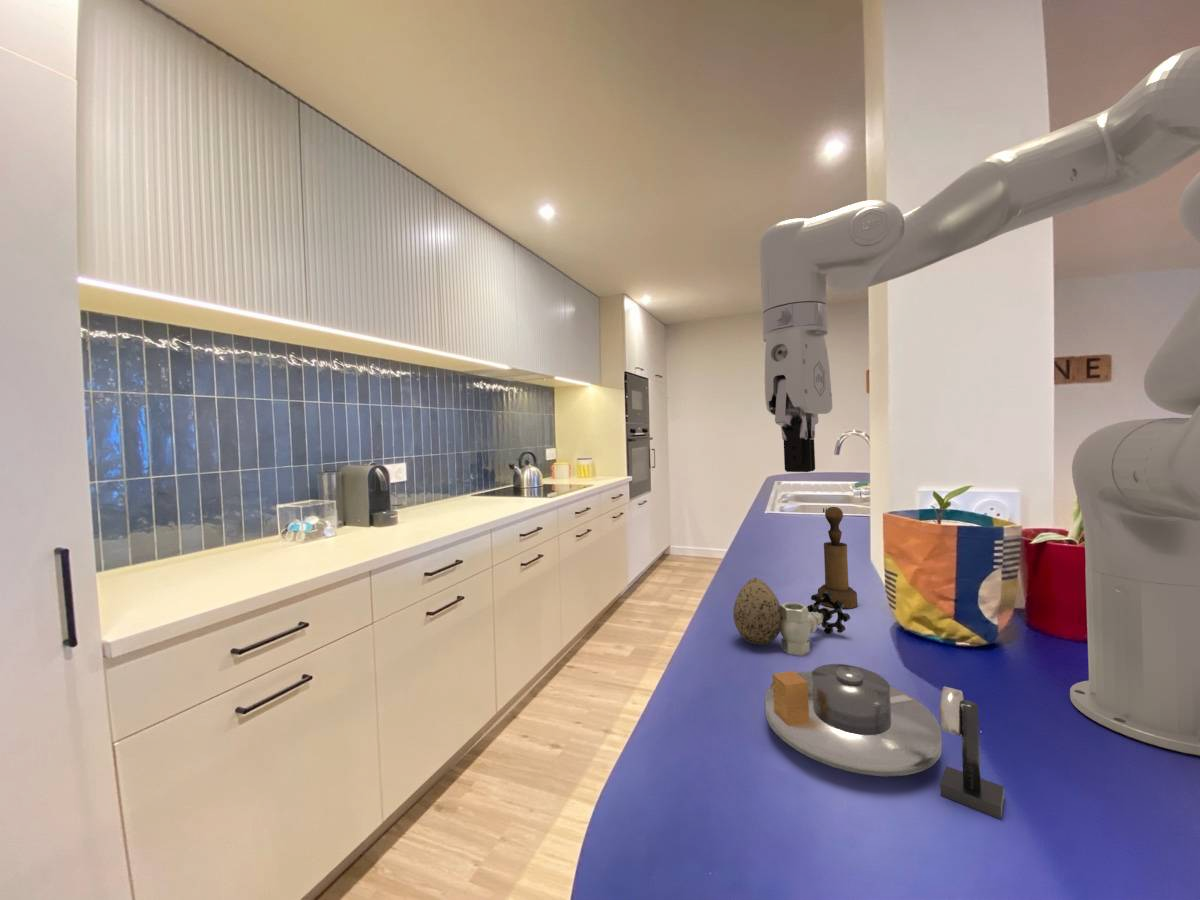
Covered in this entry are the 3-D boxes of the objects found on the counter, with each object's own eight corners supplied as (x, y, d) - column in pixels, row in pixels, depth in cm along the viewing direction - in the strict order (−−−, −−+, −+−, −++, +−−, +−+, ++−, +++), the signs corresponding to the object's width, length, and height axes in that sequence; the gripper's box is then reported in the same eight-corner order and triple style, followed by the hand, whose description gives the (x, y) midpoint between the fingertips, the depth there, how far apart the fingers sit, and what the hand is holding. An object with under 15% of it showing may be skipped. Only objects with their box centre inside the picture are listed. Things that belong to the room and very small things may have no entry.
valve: (809, 662, 66) (851, 638, 73) (807, 615, 66) (849, 596, 73) (767, 647, 71) (810, 626, 78) (765, 604, 71) (809, 587, 78)
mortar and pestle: (858, 600, 89) (855, 505, 89) (856, 611, 84) (852, 510, 84) (820, 595, 93) (816, 504, 93) (815, 606, 87) (811, 508, 87)
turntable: (859, 675, 59) (857, 631, 59) (986, 759, 43) (984, 699, 43) (739, 693, 56) (737, 647, 56) (828, 790, 40) (825, 725, 40)
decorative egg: (724, 640, 74) (721, 577, 74) (758, 630, 77) (756, 569, 77) (758, 657, 68) (755, 588, 68) (794, 646, 71) (791, 580, 71)
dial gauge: (1004, 796, 40) (1001, 694, 40) (1000, 821, 38) (997, 712, 38) (947, 774, 43) (943, 679, 43) (940, 797, 41) (936, 695, 41)
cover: (861, 693, 52) (860, 654, 52) (908, 731, 45) (906, 686, 45) (800, 698, 51) (798, 659, 51) (838, 738, 44) (836, 693, 44)
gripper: (801, 308, 51) (807, 476, 52) (845, 328, 62) (851, 467, 62) (737, 322, 57) (743, 475, 57) (789, 338, 67) (794, 467, 68)
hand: (799, 471), depth 60 cm, fingers closed
